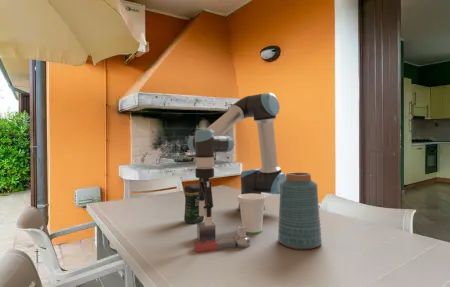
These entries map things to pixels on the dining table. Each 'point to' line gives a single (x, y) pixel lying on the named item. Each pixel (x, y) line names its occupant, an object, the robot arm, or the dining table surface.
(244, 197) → the cup
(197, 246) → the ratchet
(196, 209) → the coffee jar
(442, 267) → the dining table surface
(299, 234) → the vase
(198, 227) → the grey wooden cube
